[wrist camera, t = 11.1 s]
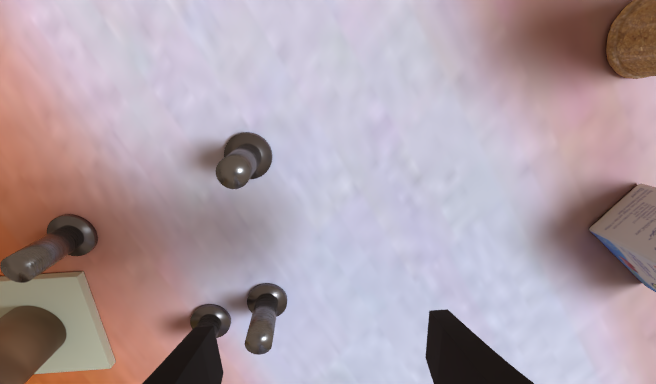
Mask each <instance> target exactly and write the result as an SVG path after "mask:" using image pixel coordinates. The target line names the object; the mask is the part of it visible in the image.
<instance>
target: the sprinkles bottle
mask: <svg viewBox="0 0 656 384" xmlns="http://www.w3.org/2000/svg"><path fill="white" fill-rule="evenodd" d="M606 53H607V60H608V62H609V64H610V66H611V67H612V68H613V69H614V71H616V73H617V74H619V75H621V76H623V77H624V78H633V79H638V78H644V77H649V76H656V0H633V1H632V2H630V3H629V4H628V5H627V6H626V7H625V8H624V9H623V10H622V11H621V13H620V14H619V15H618V16H617V18H616V19H615V20H614V22H613V23H612V25H611V28H610V32H609V34H608V37H607V48H606Z"/></svg>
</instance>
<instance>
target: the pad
mask: <svg viewBox="0 0 656 384" xmlns="http://www.w3.org/2000/svg"><path fill="white" fill-rule="evenodd" d="M20 306H36V307H40V308H43V309H45V310H47V311H49V312H51V313H53V314H54V315H55V316H57V317H58V318H59V319H60V320H61V322H62V323H63V324H64V326H65V329H66V340H65V342H64V343H63V345H62V346H61V347H60V348H59V349H58V350H57V351H56V352H55V353H54V354H53V355H52V356H51V357H50V358H49V359H48V360H47V361H46V362H45V363H44V364H43V365H42V366H41V367H40V368H39V369H38V370H37V371H36V372H35V373H34V374H42V373H56V372H70V371H83V370H97V369H111V367H112V366H113V365H114V363H115V362H116V361H115V358H114V355H113V353H112V350H111V347H110V344H109V341H108V339H107V336H106V333H105V330H104V327H103V325H102V322H101V319H100V316H99V313H98V311H97V308H96V305H95V302H94V299H93V297H92V294H91V291H90V288H89V285H88V283H87V280H86V277H85V274H84V271H81V272H65V273H49V274H39V275H38V276H36V277H35V278H33V279H32V280H30V281H29V282H25V283H18V282H14V281H12V280H10V279H8V278H7V277H6V276H1V277H0V318H1V317H2V316H4V315H5V314H6V313H8V312H9V311H10V310H12V309H14V308H16V307H20Z"/></svg>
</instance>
